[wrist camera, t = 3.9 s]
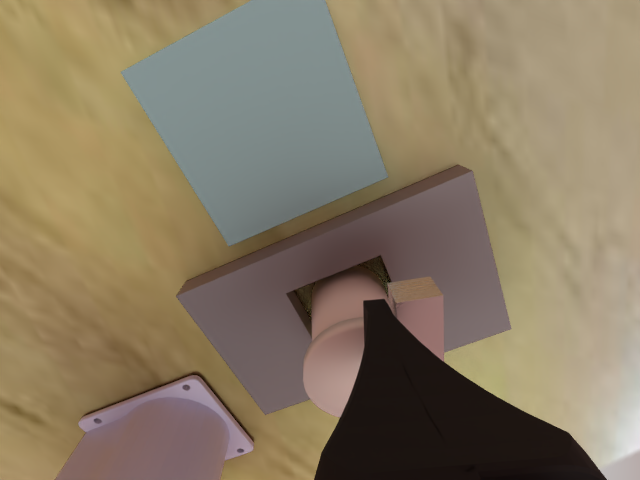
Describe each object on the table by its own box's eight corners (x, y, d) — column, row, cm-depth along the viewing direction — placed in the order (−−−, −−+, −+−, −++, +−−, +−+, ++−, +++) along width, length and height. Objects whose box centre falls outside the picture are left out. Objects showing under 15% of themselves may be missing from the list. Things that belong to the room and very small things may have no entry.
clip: (445, 500, 17) (455, 529, 15) (399, 506, 17) (406, 535, 16) (443, 274, 11) (457, 293, 10) (374, 285, 11) (381, 305, 10)
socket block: (267, 395, 22) (265, 414, 21) (185, 281, 18) (175, 296, 17) (497, 313, 20) (511, 329, 18) (458, 164, 16) (472, 170, 15)
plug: (325, 343, 20) (332, 432, 15) (289, 279, 18) (281, 355, 13) (402, 314, 20) (439, 397, 14) (374, 245, 18) (403, 309, 12)
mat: (230, 243, 17) (229, 246, 17) (125, 72, 14) (120, 71, 14) (386, 175, 16) (388, 177, 16) (312, -30, 13) (313, -34, 12)
